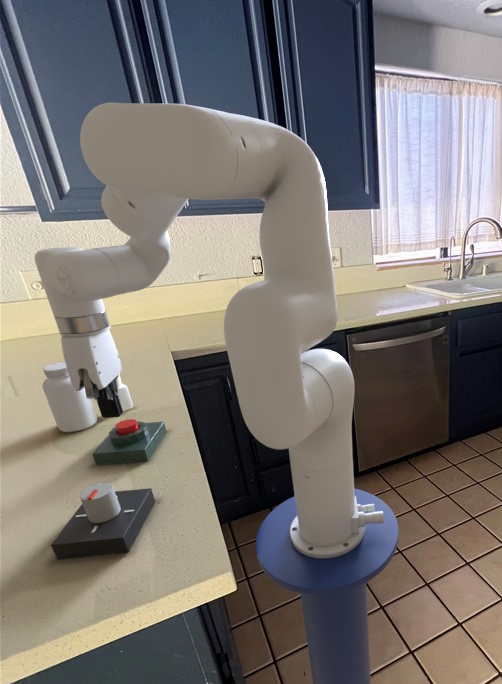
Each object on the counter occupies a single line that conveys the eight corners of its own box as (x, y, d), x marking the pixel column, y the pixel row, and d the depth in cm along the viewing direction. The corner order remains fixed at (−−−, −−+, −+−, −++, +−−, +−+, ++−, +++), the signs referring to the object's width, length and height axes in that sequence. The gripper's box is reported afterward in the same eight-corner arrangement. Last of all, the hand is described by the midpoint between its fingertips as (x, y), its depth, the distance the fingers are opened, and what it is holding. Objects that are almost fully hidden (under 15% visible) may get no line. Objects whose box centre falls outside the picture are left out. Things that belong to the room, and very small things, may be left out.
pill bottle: (80, 434, 97) (58, 373, 91) (50, 431, 99) (25, 371, 92) (106, 417, 104) (87, 360, 98) (77, 416, 106) (56, 358, 99)
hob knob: (96, 506, 70) (87, 482, 68) (125, 503, 70) (116, 479, 68) (83, 524, 66) (73, 499, 64) (113, 521, 66) (104, 497, 64)
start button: (141, 425, 92) (139, 418, 91) (134, 434, 89) (132, 427, 88) (122, 427, 92) (119, 419, 91) (114, 436, 88) (111, 429, 87)
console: (166, 431, 98) (162, 414, 96) (148, 460, 87) (142, 441, 85) (120, 435, 97) (114, 417, 95) (95, 465, 86) (88, 446, 84)
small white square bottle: (125, 404, 111) (114, 370, 107) (134, 407, 109) (124, 373, 105) (110, 411, 108) (98, 376, 104) (119, 414, 106) (108, 379, 102)
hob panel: (155, 501, 75) (151, 487, 74) (128, 552, 65) (122, 536, 63) (95, 507, 74) (89, 492, 73) (57, 560, 63) (49, 544, 62)
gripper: (80, 313, 81) (108, 400, 89) (35, 336, 67) (72, 436, 75) (123, 311, 82) (146, 397, 90) (86, 334, 68) (118, 433, 76)
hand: (113, 415), depth 82 cm, fingers closed
